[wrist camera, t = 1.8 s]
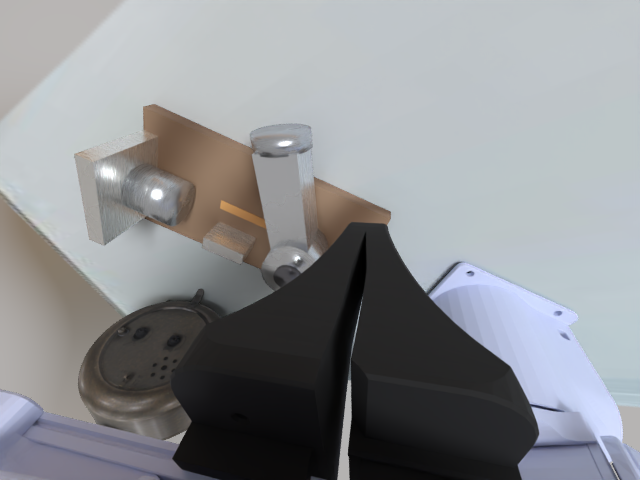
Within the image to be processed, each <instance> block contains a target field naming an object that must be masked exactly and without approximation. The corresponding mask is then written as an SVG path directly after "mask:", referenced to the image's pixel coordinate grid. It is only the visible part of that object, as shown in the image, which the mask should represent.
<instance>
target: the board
mask: <svg viewBox="0 0 640 480" xmlns="http://www.w3.org/2000/svg"><path fill="white" fill-rule="evenodd" d="M143 121H144V130H145V131H147V132H149V133H152V134H154V135H156V136H158V168H159V169H161V170H164V171H166V172H168V173H170V174H173V175H175V176H177V177H179V178H182V179H184V180H186V181H188V182H191V183H192V184H193V185H194V187H195V197H194V201H193V204H192V207H191V209H190V211H189V212H188V214H187V216H186V217H185V218H184V219H183V220H182V221H181V222H180V223H179V224H178V225H176V226H169V225H166V224H164V223H162V222H159V221H157V220H155V219H153V218H150V217H148V216H146V217H145V219H147V220H149V221H152V222H154V223H156V224H159V225H161V226H163V227H165V228H168V229H170V230H172V231H175V232H177V233H179V234H181V235H184V236H186V237H188V238H191V239H193V240H195V241H198V242H200V243H202V244H203V238H204V237H205V236H206V234H207V233H208V232H209V231H210V230H211V229H212V228H213V227H214V226H215V225H216V224H217V223H218V222H221V223H223V224H226V225H228V226H230V227H232V228H235V229H237V230H239V231H242V232H244V233H246V234H248V235H251V236H253V237H255V238H256V239H255V242H254V245H253V248H252V249H251V251H250V252H249V254H248V255H247V256H246V258H245V259H244V261H243V262H246V263H248V264H250V265H252V266H255V267H257V268H259V269H261V267H262V264H263V262H264V260H265V258H266V257H267V255H268V253H269V252H270V250H271V248H270V243H269V238H268V233H267V228H266V223H265V218H264V213H263V208H262V203H261V198H260V193H259V189H258V184H257V179H256V174H255V169H254V164H253V159H252V154H253V149H252V148H249V147H247V146H245V145H243V144H241V143H238V142H236V141H234V140H232V139H230V138H228V137H225V136H223V135H221V134H219V133H217V132H214V131H212V130H210V129H208V128H206V127H203V126H201V125H199V124H197V123H195V122H192V121H190V120H188V119H186V118H184V117H181V116H179V115H177V114H175V113H173V112H170V111H168V110H166V109H164V108H162V107H160V106H157V105H155V104H153V105H149V106H145V107H143ZM314 187H315V199H316V211H317V223H318V229H319V230H320V231H321V232H322V233H323V234H324V235H325V237H326V239H327V242H328V248H329V247H330V246H331V245H332V244H333V243H334V242H335V241H336V240H337V238H338V237H339V236H340V235H341V234H342V232H343V231H344V230H345V228H346V227H347V226H348V224H350V223H351V222H363V223H383V224H386V225H387V224H388V222H389V221H390V219H391V212H390V211H388V210H385V209H383V208H381V207H379V206H377V205H374V204H372V203H370V202H368V201H366V200H363V199H361V198H359V197H357V196H355V195H352V194H350V193H348V192H346V191H344V190H342V189H339V188H337V187H335V186H333V185H331V184H328V183H326V182H324V181H322V180H320V179H317V178H315V177H314Z"/></svg>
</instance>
